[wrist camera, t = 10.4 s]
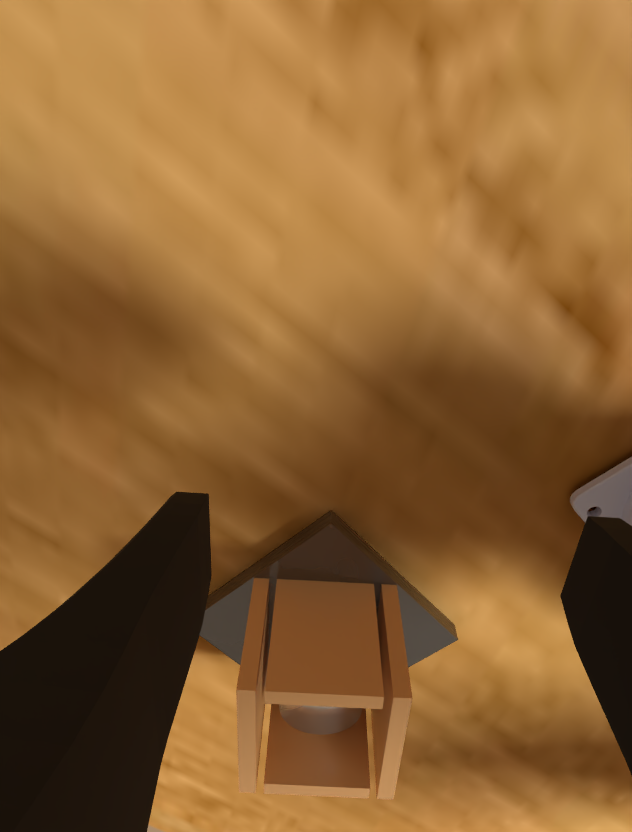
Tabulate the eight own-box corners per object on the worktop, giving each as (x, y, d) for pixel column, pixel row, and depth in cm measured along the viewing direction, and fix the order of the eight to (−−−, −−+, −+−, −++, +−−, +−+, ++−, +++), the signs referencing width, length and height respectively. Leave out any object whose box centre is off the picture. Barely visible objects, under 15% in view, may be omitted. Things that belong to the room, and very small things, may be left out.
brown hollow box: (382, 680, 26) (393, 799, 22) (254, 674, 26) (239, 792, 22) (396, 585, 23) (412, 698, 19) (253, 578, 23) (236, 689, 19)
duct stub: (454, 624, 26) (475, 717, 22) (314, 703, 28) (312, 798, 24) (331, 510, 23) (331, 593, 19) (189, 609, 25) (164, 699, 22)
